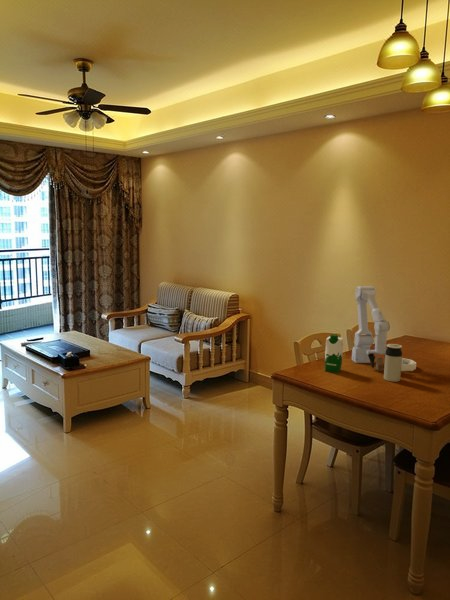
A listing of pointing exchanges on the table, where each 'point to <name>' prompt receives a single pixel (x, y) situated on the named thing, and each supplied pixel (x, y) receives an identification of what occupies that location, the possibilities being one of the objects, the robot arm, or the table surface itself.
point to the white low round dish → (408, 365)
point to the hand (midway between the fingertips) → (379, 367)
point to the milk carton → (333, 353)
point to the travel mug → (393, 363)
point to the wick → (379, 363)
